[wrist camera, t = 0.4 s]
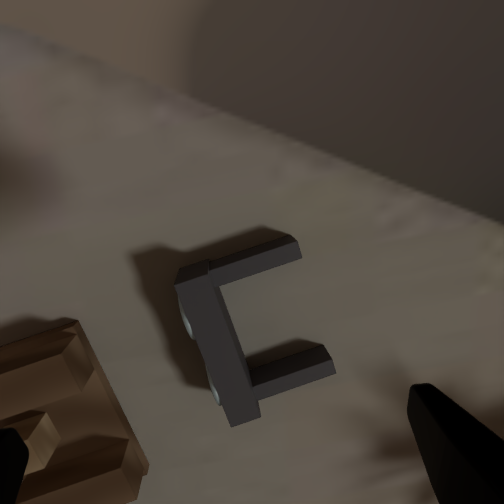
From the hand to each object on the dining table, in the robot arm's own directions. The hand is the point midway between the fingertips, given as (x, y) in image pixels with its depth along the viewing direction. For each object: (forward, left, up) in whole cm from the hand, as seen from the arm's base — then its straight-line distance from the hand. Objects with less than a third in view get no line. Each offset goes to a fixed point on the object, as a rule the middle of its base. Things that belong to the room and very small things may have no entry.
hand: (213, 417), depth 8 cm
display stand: (-6, +12, -13) cm, 19 cm away
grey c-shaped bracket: (-4, -1, -13) cm, 14 cm away
